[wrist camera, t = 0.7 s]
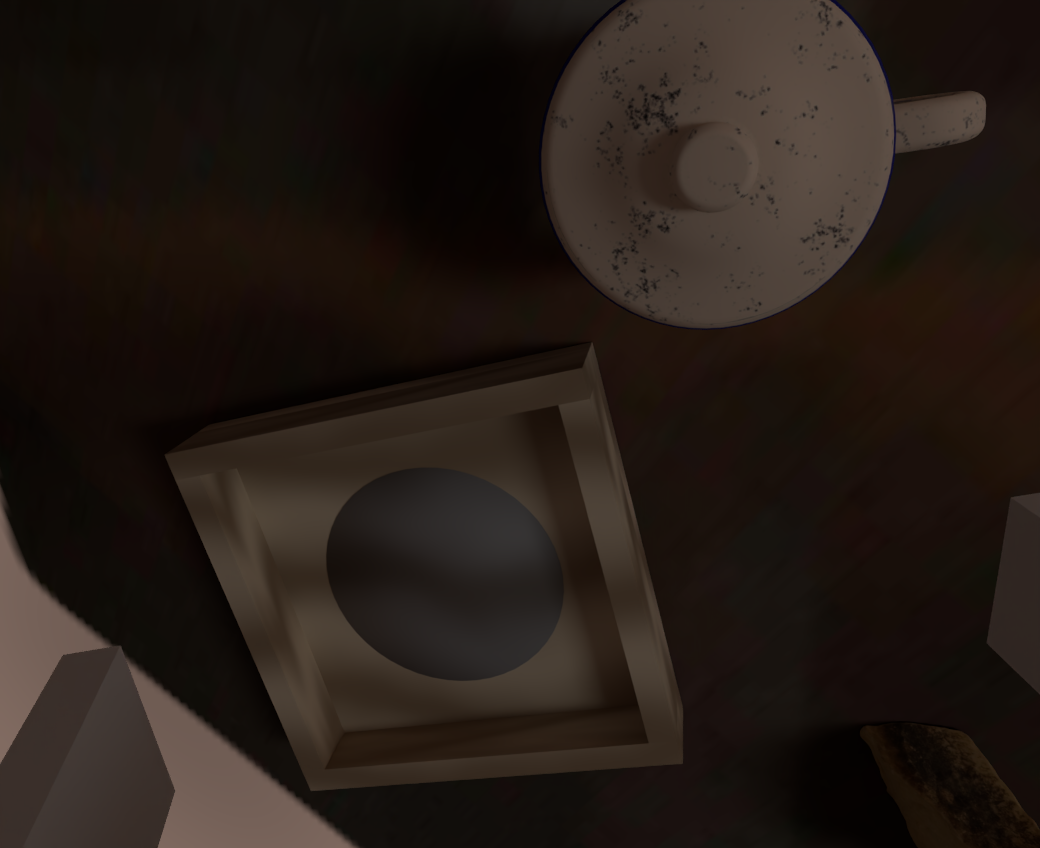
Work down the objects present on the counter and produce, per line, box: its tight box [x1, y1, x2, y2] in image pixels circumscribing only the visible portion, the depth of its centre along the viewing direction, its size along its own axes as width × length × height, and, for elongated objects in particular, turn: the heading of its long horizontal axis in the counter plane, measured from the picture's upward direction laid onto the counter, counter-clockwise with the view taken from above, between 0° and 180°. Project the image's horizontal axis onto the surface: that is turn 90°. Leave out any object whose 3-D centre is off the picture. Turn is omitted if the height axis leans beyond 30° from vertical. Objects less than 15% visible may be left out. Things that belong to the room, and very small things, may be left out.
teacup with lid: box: [539, 0, 986, 330], centre depth 23 cm, size 12×9×12 cm
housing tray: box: [165, 342, 683, 791], centre depth 36 cm, size 18×18×4 cm
